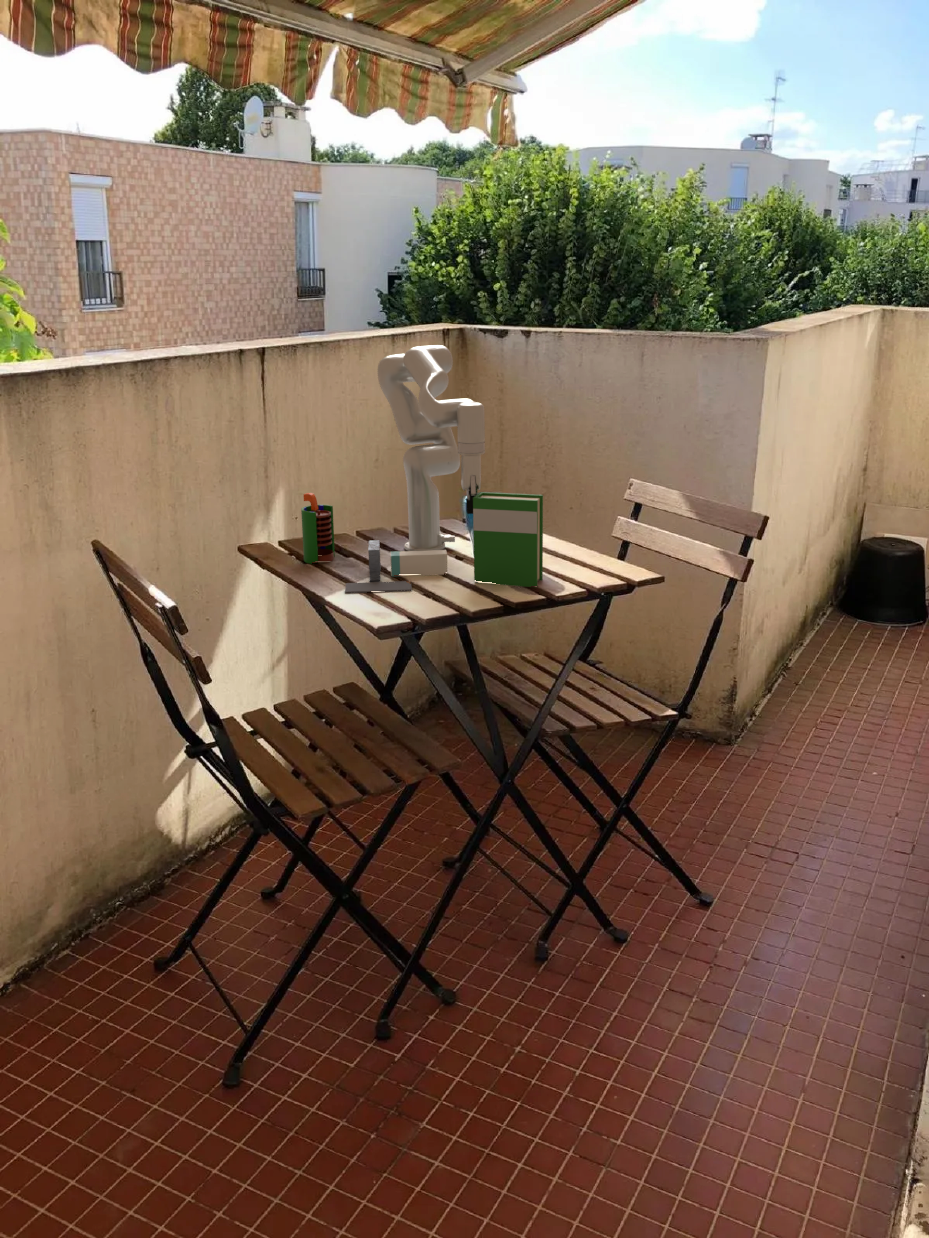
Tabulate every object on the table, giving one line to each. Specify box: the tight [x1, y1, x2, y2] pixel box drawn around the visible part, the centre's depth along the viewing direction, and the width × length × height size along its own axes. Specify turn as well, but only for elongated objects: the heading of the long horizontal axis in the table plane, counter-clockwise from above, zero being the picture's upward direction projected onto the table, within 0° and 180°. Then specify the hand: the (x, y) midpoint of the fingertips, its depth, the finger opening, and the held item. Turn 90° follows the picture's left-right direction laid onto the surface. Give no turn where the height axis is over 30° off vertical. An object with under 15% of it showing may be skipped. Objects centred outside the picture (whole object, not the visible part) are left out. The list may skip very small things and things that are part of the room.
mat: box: [344, 580, 413, 594], centre depth 301 cm, size 18×8×1 cm, turn 94°
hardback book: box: [472, 491, 544, 588], centre depth 301 cm, size 18×7×24 cm, turn 74°
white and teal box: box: [389, 549, 448, 577], centre depth 313 cm, size 16×4×6 cm, turn 94°
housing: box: [367, 539, 382, 582], centre depth 312 cm, size 3×16×9 cm, turn 4°
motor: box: [300, 492, 336, 565], centre depth 326 cm, size 10×9×20 cm
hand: (472, 512), depth 309 cm, fingers closed
